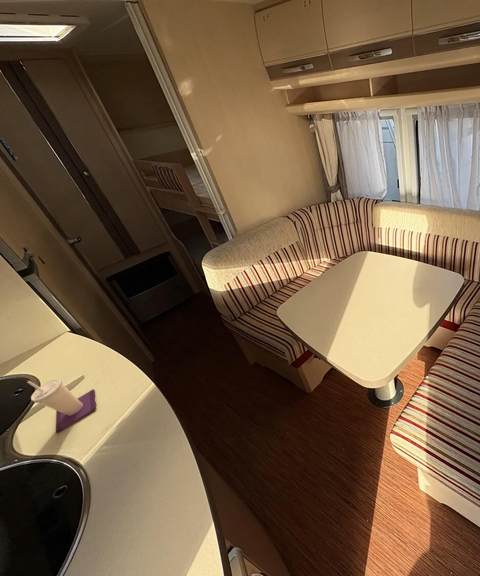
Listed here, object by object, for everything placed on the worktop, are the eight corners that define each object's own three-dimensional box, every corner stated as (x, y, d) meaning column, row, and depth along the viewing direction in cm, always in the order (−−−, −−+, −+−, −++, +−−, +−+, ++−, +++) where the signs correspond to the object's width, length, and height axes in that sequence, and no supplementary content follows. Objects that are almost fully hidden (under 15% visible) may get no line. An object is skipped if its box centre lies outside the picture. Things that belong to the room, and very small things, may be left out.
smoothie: (56, 417, 84) (9, 388, 76) (80, 396, 89) (39, 366, 80) (69, 423, 82) (22, 393, 73) (93, 401, 86) (51, 371, 78)
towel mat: (57, 433, 81) (55, 432, 80) (58, 411, 87) (56, 410, 86) (96, 409, 85) (95, 408, 84) (94, 390, 91) (93, 389, 90)
